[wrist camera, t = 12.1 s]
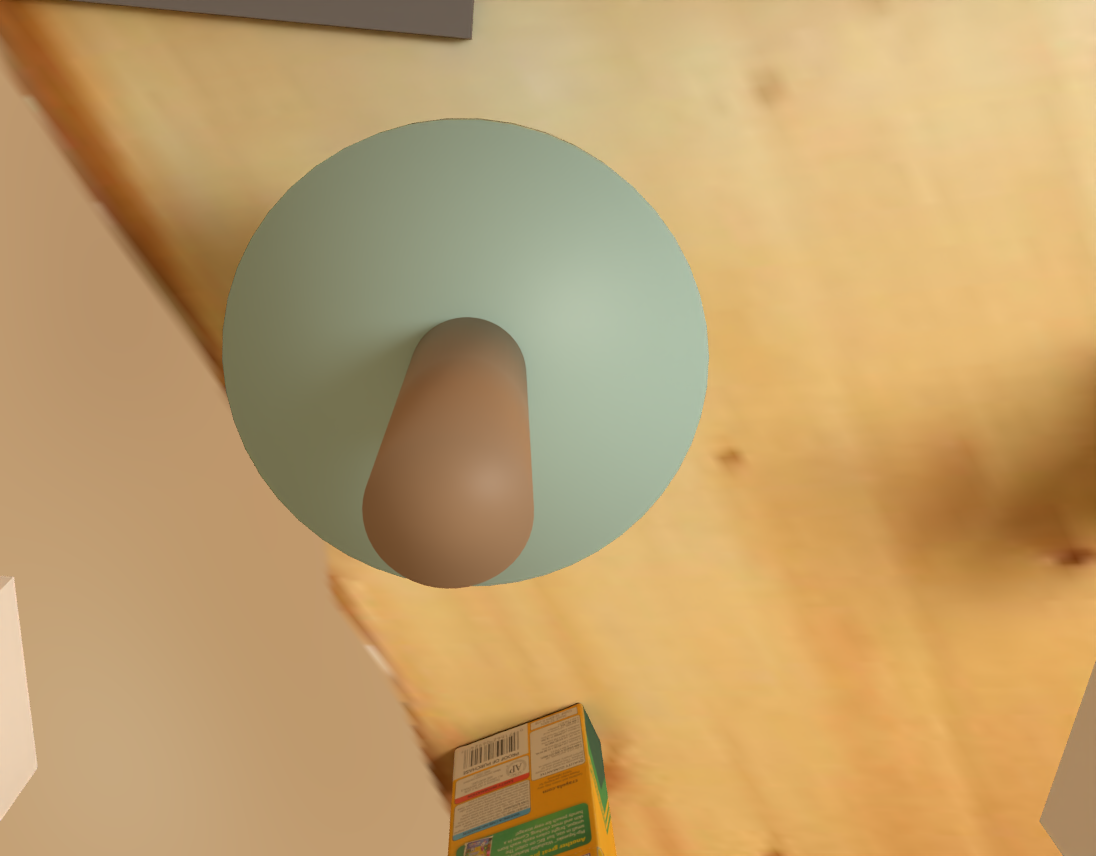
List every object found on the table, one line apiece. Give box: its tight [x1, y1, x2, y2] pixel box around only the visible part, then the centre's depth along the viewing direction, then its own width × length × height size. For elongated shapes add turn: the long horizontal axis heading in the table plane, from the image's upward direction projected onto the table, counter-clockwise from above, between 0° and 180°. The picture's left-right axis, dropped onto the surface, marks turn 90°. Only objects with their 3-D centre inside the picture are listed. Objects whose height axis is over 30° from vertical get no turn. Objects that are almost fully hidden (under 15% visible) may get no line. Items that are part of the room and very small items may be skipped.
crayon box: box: [448, 703, 617, 856], centre depth 44 cm, size 7×3×12 cm, turn 112°
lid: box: [222, 119, 709, 588], centre depth 25 cm, size 15×15×11 cm
